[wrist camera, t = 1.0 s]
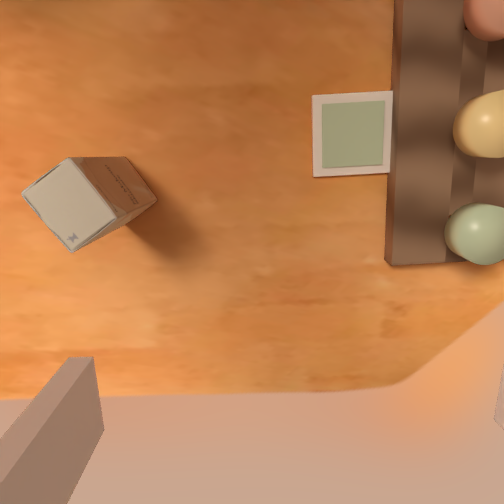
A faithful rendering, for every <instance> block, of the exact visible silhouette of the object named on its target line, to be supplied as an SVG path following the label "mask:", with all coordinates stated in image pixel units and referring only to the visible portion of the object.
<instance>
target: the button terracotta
mask: <svg viewBox="0 0 504 504" xmlns="http://www.w3.org/2000/svg"><path fill="white" fill-rule="evenodd" d="M463 17H464V22H465V24H466V26H467V28H468V30H469V31H470V33H471V34H472V35H473V36H475V37H476V38H478V39H480V40H483V41H498V40H501V39H503V38H504V0H464V4H463Z"/></svg>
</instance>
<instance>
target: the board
mask: <svg viewBox="0 0 504 504" xmlns="http://www.w3.org/2000/svg"><path fill="white" fill-rule="evenodd" d="M463 4H464V0H394V23H393V49H392V75H391V91H392V90H393V102H392V127H391V152H390V173H388V178H387V204H386V230H385V256H384V260H386V261H387V262H388V263H389V264H391V265H392V266H393V265H410V264H427V263H444V262H462V261H469V260H467V259H465V258H463V257H461V256H459V255H457V254H455V253H454V252H452V251H451V250H450V249H449V247H448V246H447V244H446V241H445V236H444V231H445V226H446V223H447V221H448V219H449V215H452V214H453V213H454V212H455V211H456V210H457V209H458V208H460V207H461V206H463V205H466V204H468V203H473V202H480V203H485V204H490V205H494V206H498V207H502V208H504V157H502V158H486V157H472V156H469V155H466V154H465V153H463V152H462V151H461V150H460V149H459V148H458V147H457V145H456V143H455V141H454V137H453V124H454V120H455V117H456V115H457V113H458V112H459V110H460V109H461V107H462V106H463V105H464V104H465V103H466V102H468V101H469V100H470V99H472V98H474V97H476V96H479V95H483V94H487V93H491V92H496V91H500V90H504V38H503V39H501V40H498V41H483V40H480V39H478V38H476V37H475V36H473V35H472V34H471V33H470V31H469V30H465V22H464V17H463Z"/></svg>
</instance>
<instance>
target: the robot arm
mask: <svg viewBox="0 0 504 504" xmlns="http://www.w3.org/2000/svg"><path fill="white" fill-rule="evenodd" d="M494 420H495V421H496V422H497V423H498V424H499V425H500V427H502V429H503V430H504V366H503V371H502V377H501V382H500V388H499V394H498V399H497V405H496V410H495V415H494ZM103 431H104V425H103V418H102V411H101V405H100V398H99V392H98V385H97V378H96V372H95V365H94V359H93V357H69V358H68V359H67V360H66V361H65V363H64V364H63V365H62V366H61V367H60V369H59V370H58V371H57V372H56V373H55V374H54V376H53V377H52V378H51V379H50V380H49V382H48V383H47V384H46V385H45V386H44V387H43V389H42V390H41V391H40V392H39V393H38V395H37V396H36V397H35V398H34V399H33V401H32V402H31V403H30V404H29V405H28V407H27V408H26V409H25V410H24V411H23V412H22V414H21V415H20V416H19V417H18V418H17V419H16V421H15V422H14V423H13V424H12V425H11V427H10V428H9V429H8V430H7V431H6V433H5V434H4V435H3V436H2V437H1V438H0V504H67V503H68V501H69V499H70V497H71V495H72V493H73V491H74V489H75V487H76V485H77V483H78V481H79V479H80V477H81V475H82V473H83V471H84V469H85V467H86V465H87V463H88V461H89V459H90V457H91V455H92V453H93V451H94V449H95V447H96V445H97V443H98V441H99V439H100V437H101V435H102V433H103Z"/></svg>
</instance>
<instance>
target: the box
mask: <svg viewBox="0 0 504 504" xmlns="http://www.w3.org/2000/svg"><path fill="white" fill-rule="evenodd" d="M22 197H23V198H24V199H25V200H26V202H27V203H28V204H29V205H30V206H31V208H32V209H33V210H34V211H35V212H36V214H37V215H38V216H39V217H40V218H41V220H42V221H43V222H44V223H45V224H46V225H47V227H48V228H49V229H50V230H51V231H52V232H53V233H54V235H55V236H56V237H57V238H58V239H59V240H60V241H61V242H62V244H63V245H64V246H65V247H66V248H67V249H68V250H69V252H71V253H73V252H75V251H77V250H79V249H81V248H82V247H84V246H86V245H88V244H90V243H92V242H93V241H95V240H97V239H99V238H101V237H103V236H104V235H106V234H108V233H110V232H112V231H114V230H116V229H118V228H120V227H122V226H123V225H125V224H127V223H128V222H130V221H131V220H133V219H134V218H135V217H137V216H138V215H140V214H141V213H142V212H144V211H145V210H146V209H148V208H149V207H150V206H152V205H153V204H154V203H155V202H156V201H157V198H156V197H155V195H154V194H153V193H152V191H151V190H150V188H149V187H148V186H147V184H146V183H145V182H144V180H143V179H142V178H141V177H140V175H139V174H138V173H137V171H136V170H135V169H134V167H133V166H132V165H131V163H130V162H129V161H128V160H127V158H126V157H68V158H66V159H65V160H63V161H62V162H61V163H59V164H58V165H56V166H55V167H54V168H52V169H51V170H49V171H48V172H47V173H46V174H44V175H43V176H41V177H40V178H39V179H38V180H36V181H35V182H34V183H32V184H31V185H30V186H29V187H27V188H26V189H25V190H23V191H22Z"/></svg>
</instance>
